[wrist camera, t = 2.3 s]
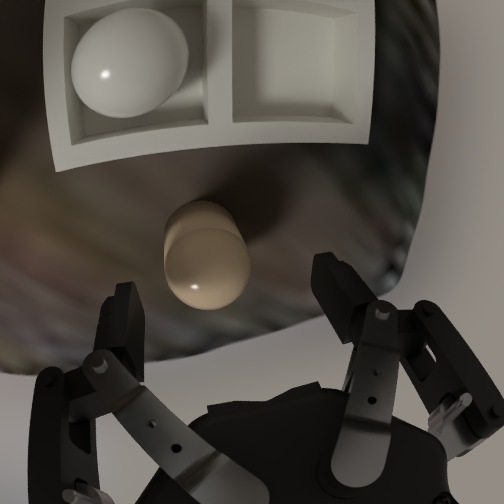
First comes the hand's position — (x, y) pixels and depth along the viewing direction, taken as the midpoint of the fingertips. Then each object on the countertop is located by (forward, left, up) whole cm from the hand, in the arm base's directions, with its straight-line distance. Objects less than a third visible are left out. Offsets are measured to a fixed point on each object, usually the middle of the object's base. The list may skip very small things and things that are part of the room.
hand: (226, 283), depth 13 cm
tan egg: (-1, -1, -6) cm, 6 cm away
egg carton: (0, +16, -6) cm, 17 cm away
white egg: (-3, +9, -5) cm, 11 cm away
